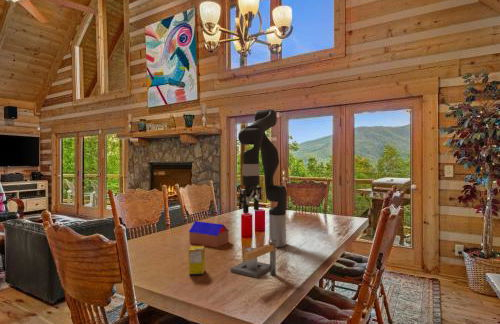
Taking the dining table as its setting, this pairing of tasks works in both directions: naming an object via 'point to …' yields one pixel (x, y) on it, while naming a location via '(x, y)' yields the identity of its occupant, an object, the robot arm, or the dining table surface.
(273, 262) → the gate
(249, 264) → the plug
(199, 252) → the supplement box
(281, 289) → the dining table surface
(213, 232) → the house
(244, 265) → the socket collar
